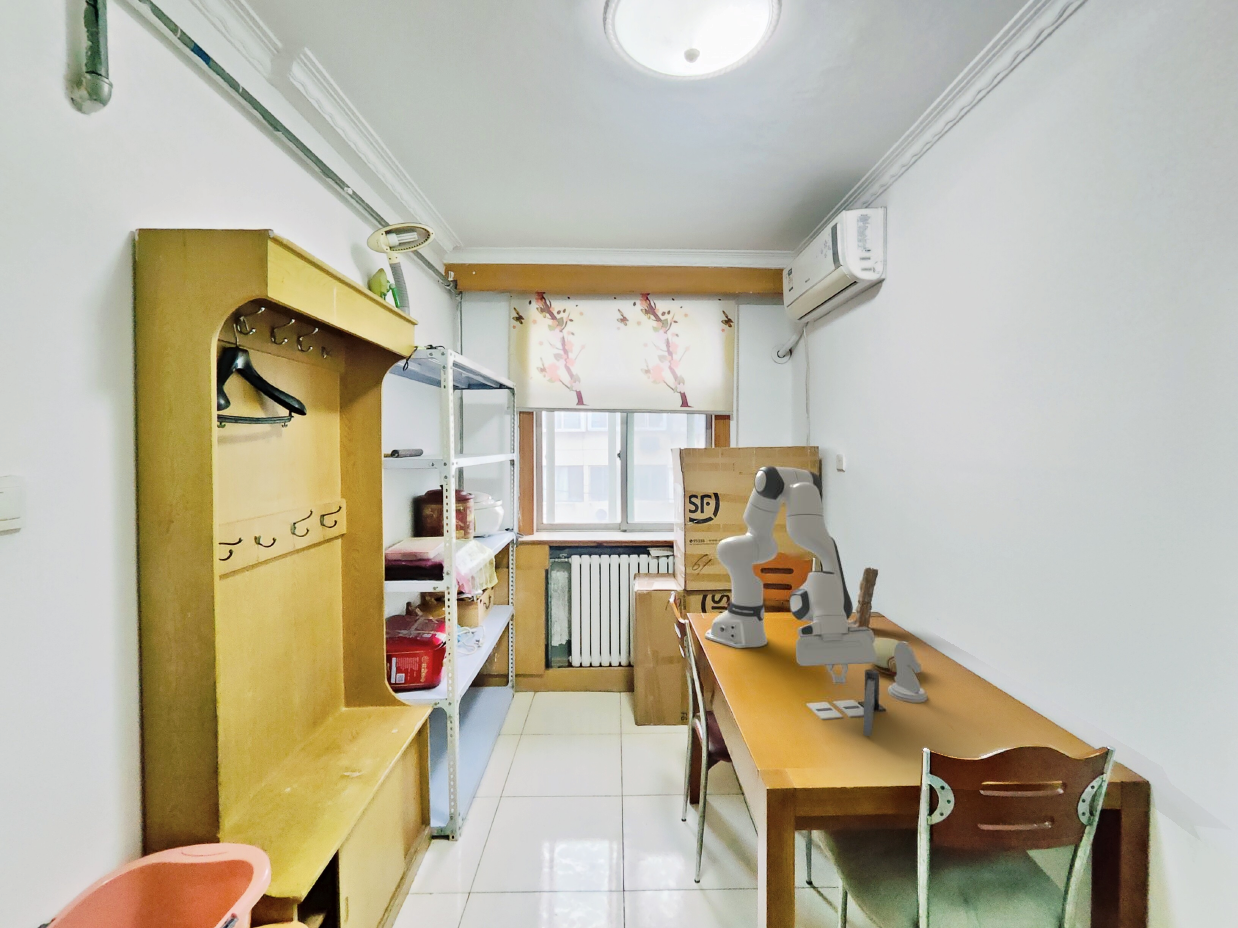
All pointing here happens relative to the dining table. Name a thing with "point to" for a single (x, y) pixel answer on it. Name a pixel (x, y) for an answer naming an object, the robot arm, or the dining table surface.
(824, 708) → the label plate
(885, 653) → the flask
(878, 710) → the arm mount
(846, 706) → the label plate
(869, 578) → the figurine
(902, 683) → the chess piece
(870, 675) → the grey panel stand
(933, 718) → the dining table surface
